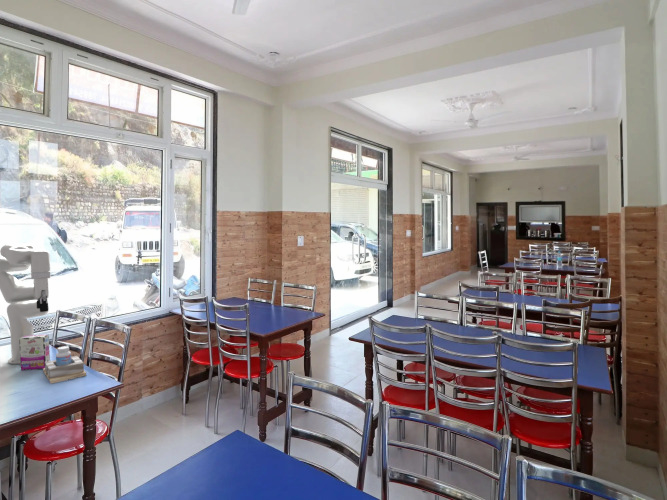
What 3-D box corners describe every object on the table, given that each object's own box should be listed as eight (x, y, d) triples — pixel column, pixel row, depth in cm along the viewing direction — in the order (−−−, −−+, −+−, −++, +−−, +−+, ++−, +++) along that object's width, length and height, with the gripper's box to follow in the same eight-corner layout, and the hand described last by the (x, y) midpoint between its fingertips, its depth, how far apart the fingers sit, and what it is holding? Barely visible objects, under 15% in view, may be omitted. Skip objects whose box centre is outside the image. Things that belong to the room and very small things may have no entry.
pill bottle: (63, 373, 187) (63, 350, 186) (53, 372, 188) (52, 349, 187) (74, 368, 193) (73, 346, 192) (64, 367, 194) (63, 345, 193)
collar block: (43, 371, 193) (42, 360, 192) (76, 364, 202) (76, 354, 202) (50, 383, 178) (50, 371, 178) (86, 375, 188) (85, 364, 188)
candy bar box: (50, 365, 201) (49, 334, 199) (45, 369, 196) (44, 337, 194) (25, 367, 198) (24, 335, 197) (20, 370, 193) (18, 338, 192)
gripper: (28, 274, 195) (30, 308, 196) (34, 277, 183) (35, 314, 184) (47, 272, 200) (48, 305, 201) (53, 276, 188) (55, 311, 189)
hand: (42, 309), depth 193 cm, fingers open, 9 cm apart
